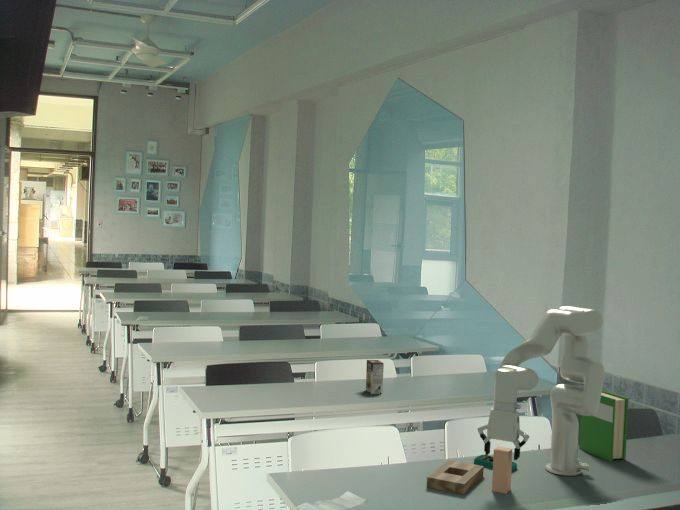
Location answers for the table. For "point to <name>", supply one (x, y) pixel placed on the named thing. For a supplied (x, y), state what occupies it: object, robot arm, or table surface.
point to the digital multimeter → (489, 462)
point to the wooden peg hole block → (455, 477)
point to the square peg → (502, 469)
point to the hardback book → (606, 428)
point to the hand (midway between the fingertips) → (501, 456)
